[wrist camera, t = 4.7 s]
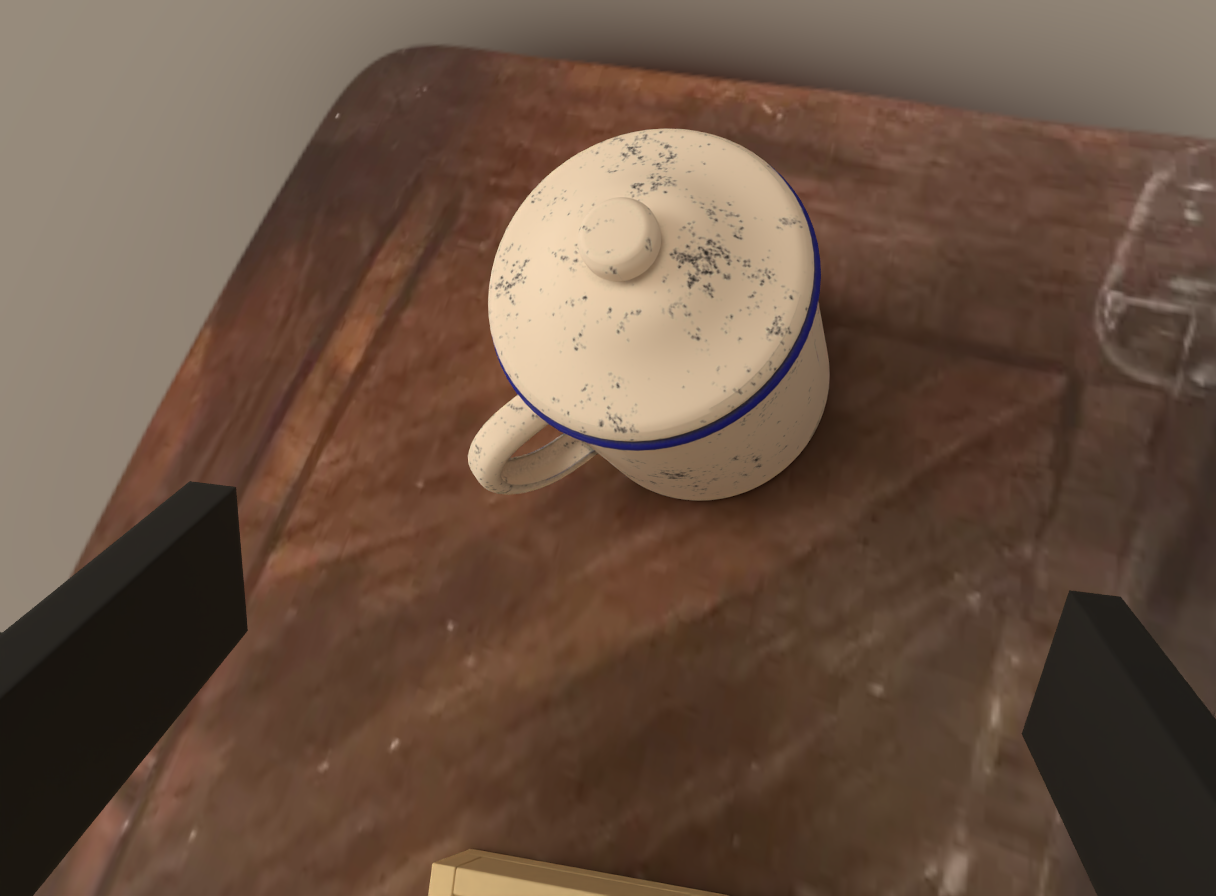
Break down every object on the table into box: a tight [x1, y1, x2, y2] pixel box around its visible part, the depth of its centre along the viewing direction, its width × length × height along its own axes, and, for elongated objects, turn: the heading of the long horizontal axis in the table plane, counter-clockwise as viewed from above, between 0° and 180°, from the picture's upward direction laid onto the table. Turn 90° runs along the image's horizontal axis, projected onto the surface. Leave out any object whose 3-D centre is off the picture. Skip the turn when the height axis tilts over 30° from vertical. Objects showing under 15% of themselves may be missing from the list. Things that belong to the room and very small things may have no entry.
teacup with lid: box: [468, 129, 830, 501], centre depth 27 cm, size 12×9×12 cm
